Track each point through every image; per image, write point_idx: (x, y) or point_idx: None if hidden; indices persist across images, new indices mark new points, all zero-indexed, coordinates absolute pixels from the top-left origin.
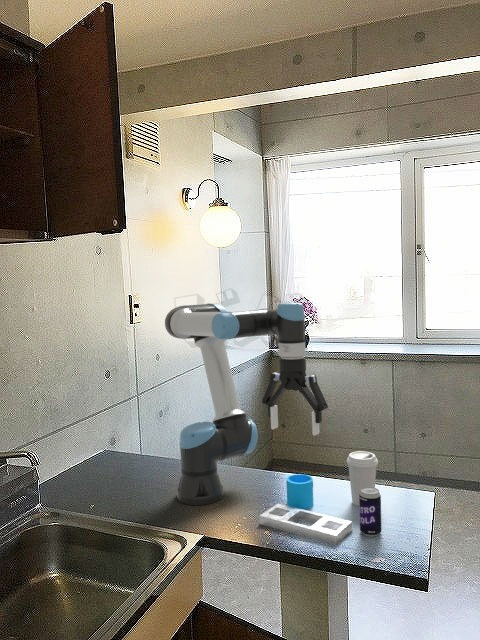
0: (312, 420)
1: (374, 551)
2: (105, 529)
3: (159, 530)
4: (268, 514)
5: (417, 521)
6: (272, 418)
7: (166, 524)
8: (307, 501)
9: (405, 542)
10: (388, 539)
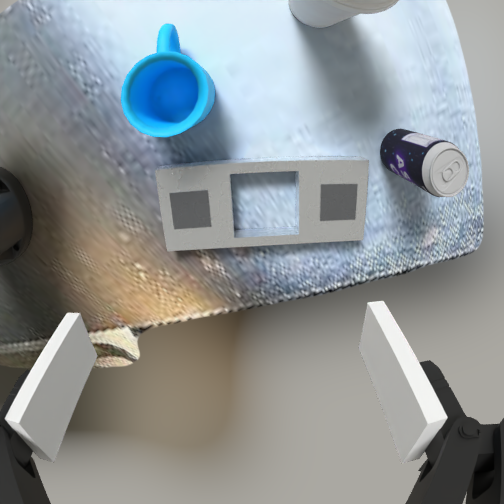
0: (387, 414)
1: (420, 215)
2: None
3: None
4: (179, 235)
5: (449, 57)
6: (74, 403)
7: None
8: (210, 107)
9: None
10: None
